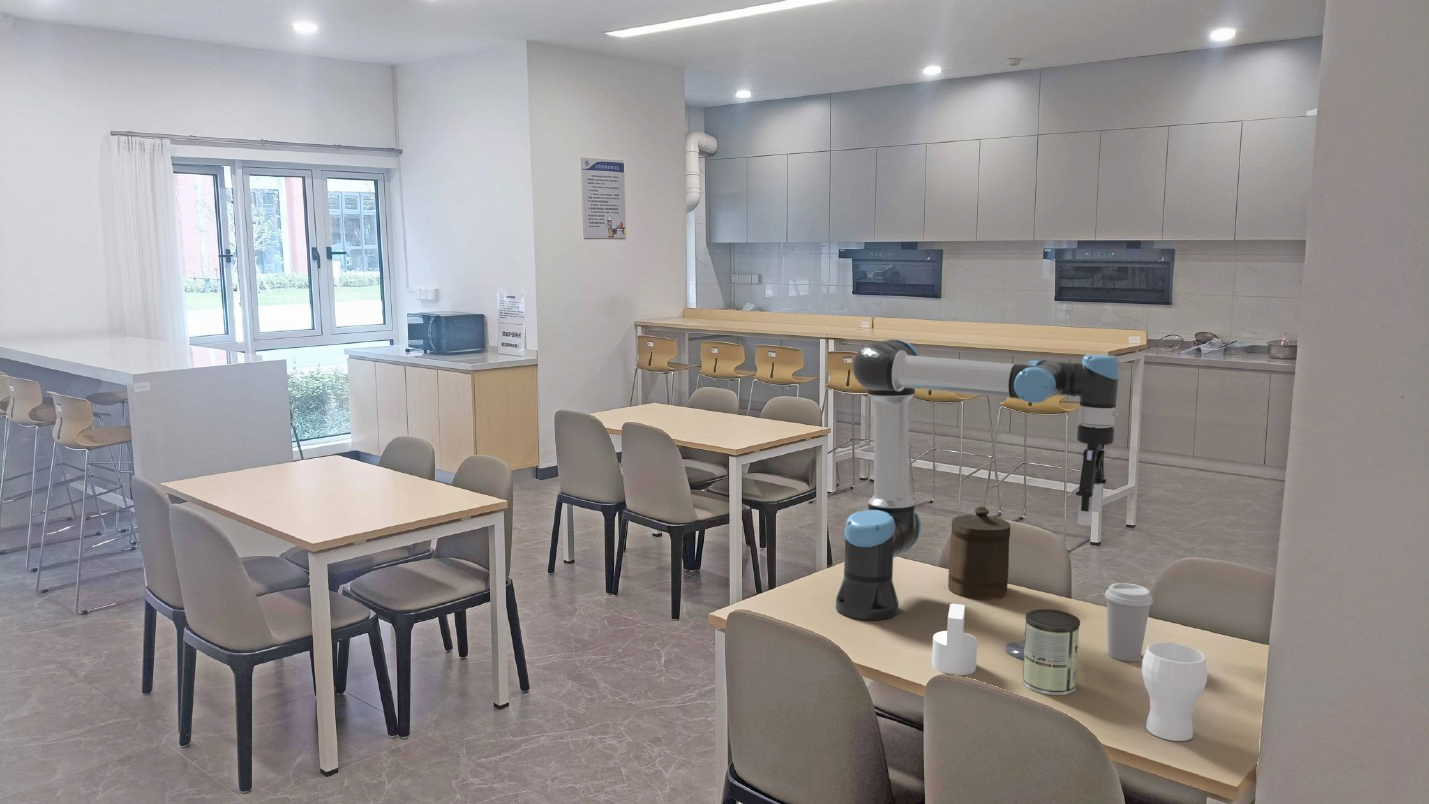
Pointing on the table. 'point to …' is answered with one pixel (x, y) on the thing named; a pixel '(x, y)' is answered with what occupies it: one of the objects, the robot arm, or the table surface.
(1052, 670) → the coffee can
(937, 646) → the base with upright slab
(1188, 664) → the cup
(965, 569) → the wooden container
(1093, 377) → the robot arm
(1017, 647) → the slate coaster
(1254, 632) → the table surface
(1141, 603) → the coffee cup
